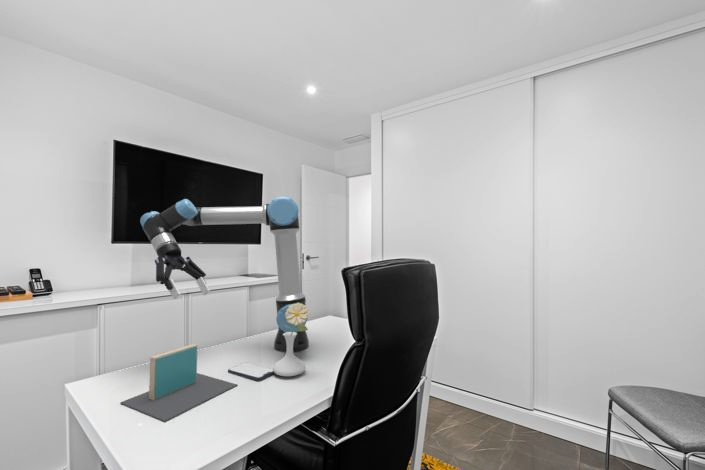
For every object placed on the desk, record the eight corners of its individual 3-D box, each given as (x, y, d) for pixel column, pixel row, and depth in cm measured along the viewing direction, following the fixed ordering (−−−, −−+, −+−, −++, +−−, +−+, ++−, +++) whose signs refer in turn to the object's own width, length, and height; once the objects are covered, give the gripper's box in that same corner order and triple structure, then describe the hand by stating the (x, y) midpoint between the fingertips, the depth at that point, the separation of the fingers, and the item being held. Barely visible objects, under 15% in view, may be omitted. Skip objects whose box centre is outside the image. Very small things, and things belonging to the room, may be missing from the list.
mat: (195, 373, 112) (195, 372, 112) (237, 385, 103) (237, 384, 103) (120, 403, 91) (120, 402, 91) (164, 422, 82) (164, 420, 82)
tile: (192, 380, 106) (193, 343, 106) (197, 382, 105) (198, 345, 105) (149, 398, 93) (150, 357, 94) (153, 400, 92) (155, 358, 93)
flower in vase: (266, 376, 111) (267, 303, 111) (284, 365, 121) (285, 298, 122) (299, 382, 106) (301, 306, 107) (315, 370, 117) (316, 300, 118)
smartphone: (226, 374, 114) (258, 383, 106) (226, 369, 114) (258, 378, 106) (245, 366, 122) (277, 374, 114) (245, 361, 122) (277, 369, 114)
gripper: (186, 254, 133) (211, 297, 127) (128, 253, 109) (155, 305, 104) (198, 243, 131) (224, 285, 126) (142, 239, 108) (170, 291, 102)
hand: (192, 294), depth 115 cm, fingers open, 13 cm apart
